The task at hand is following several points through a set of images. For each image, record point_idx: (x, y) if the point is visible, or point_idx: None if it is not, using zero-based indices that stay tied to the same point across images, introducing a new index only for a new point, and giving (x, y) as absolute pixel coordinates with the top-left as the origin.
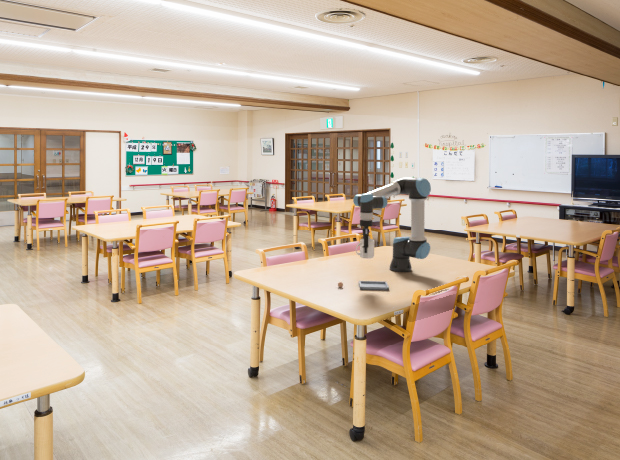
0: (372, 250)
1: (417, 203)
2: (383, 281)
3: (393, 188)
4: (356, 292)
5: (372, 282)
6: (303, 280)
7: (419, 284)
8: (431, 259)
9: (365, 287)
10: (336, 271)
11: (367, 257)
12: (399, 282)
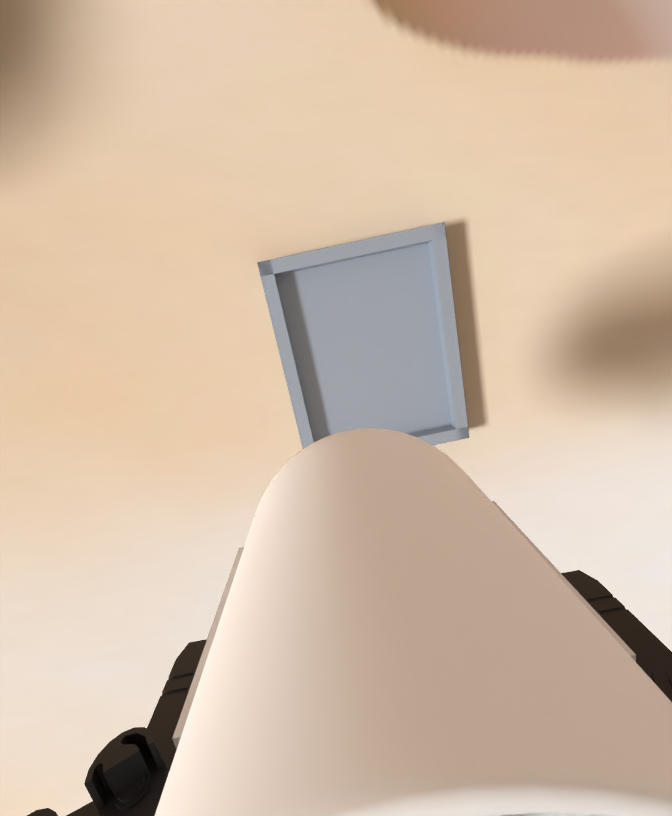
0: (488, 504)
1: None
2: (266, 287)
3: None
4: (529, 441)
5: (298, 372)
6: None
7: None
8: None
9: (462, 401)
10: (43, 643)
11: (499, 510)
12: (157, 153)
